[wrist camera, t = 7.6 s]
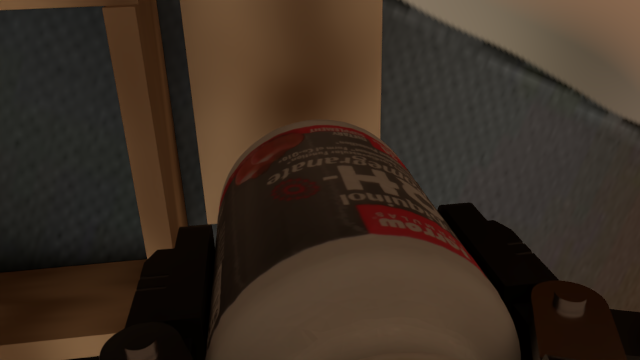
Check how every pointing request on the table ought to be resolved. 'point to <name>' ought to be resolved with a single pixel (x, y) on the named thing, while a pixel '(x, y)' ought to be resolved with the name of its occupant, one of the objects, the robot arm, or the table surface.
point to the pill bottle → (343, 259)
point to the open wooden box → (151, 193)
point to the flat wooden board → (277, 73)
